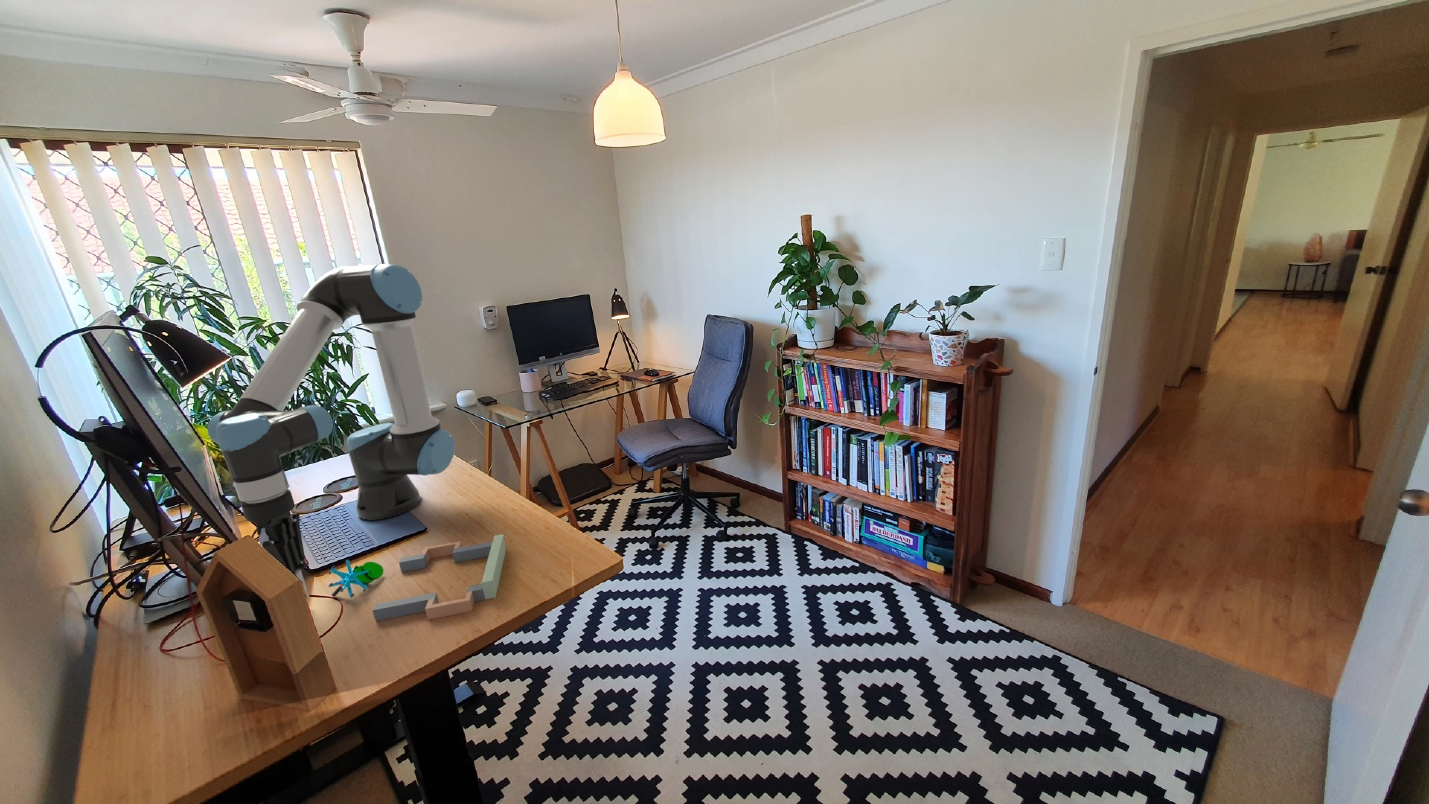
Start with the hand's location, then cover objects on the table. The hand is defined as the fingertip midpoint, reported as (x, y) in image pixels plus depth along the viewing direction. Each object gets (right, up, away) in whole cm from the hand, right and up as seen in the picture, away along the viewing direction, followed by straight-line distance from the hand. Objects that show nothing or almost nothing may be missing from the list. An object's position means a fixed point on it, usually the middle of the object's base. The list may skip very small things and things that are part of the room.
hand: (300, 600), depth 109 cm
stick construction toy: (+10, -1, +4) cm, 11 cm away
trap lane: (+26, +2, +6) cm, 26 cm away
